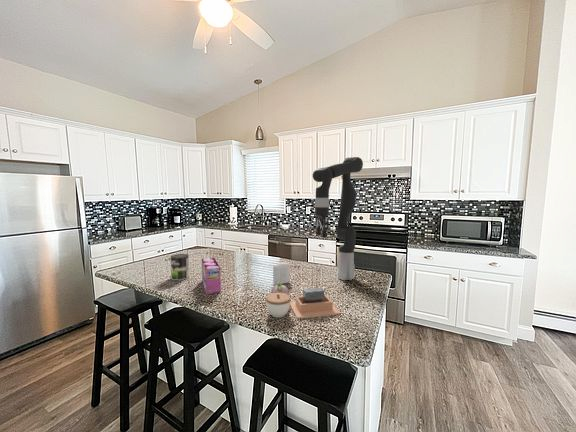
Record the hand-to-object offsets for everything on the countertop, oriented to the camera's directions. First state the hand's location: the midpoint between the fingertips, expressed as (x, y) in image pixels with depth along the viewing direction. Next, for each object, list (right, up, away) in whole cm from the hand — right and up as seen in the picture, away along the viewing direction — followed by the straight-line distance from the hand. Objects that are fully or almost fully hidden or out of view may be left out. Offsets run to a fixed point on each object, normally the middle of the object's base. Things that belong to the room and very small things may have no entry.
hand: (321, 236), depth 139 cm
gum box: (-62, -29, +8) cm, 69 cm away
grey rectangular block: (-6, -31, -20) cm, 38 cm away
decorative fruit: (-22, -32, -14) cm, 41 cm away
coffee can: (-85, -28, +21) cm, 92 cm away
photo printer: (-22, -29, +13) cm, 39 cm away
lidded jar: (-22, -33, -26) cm, 47 cm away
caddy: (-6, -32, -20) cm, 38 cm away
